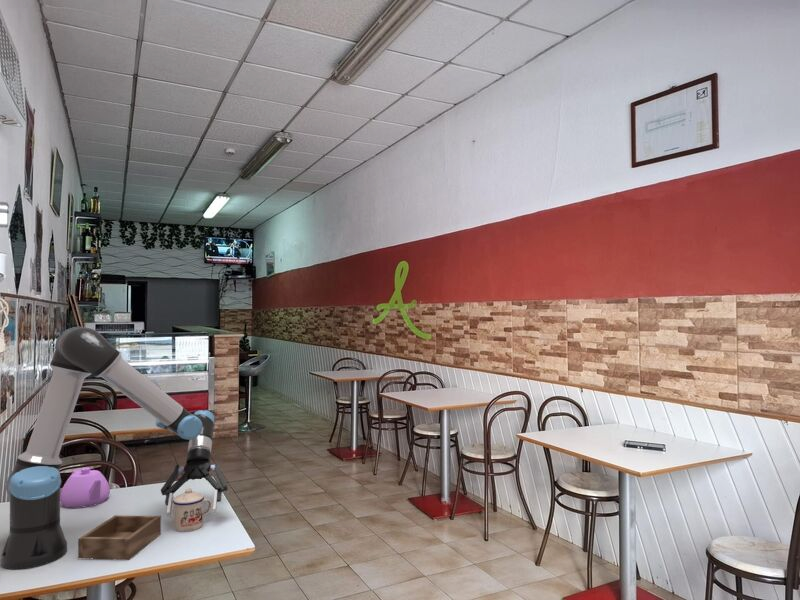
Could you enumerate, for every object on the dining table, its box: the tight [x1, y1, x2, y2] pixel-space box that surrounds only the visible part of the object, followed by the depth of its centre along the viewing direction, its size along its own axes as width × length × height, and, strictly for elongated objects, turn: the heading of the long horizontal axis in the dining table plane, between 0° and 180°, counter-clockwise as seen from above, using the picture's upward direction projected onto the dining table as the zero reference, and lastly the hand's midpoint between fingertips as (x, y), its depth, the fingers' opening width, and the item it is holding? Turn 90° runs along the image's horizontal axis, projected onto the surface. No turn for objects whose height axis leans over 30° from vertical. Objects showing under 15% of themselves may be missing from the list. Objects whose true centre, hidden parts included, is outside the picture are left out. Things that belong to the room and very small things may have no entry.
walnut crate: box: [77, 515, 162, 561], centre depth 158 cm, size 14×17×6 cm
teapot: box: [60, 466, 111, 508], centre depth 197 cm, size 22×16×12 cm
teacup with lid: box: [173, 488, 213, 533], centre depth 173 cm, size 12×9×12 cm
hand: (191, 513), depth 171 cm, fingers open, 13 cm apart
